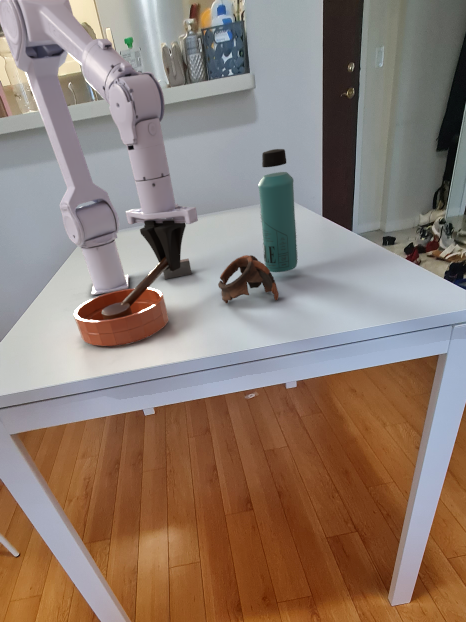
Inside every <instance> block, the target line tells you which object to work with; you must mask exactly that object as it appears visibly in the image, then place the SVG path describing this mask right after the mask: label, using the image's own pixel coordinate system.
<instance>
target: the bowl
mask: <svg viewBox="0 0 466 622" xmlns="http://www.w3.org/2000/svg"><path fill="white" fill-rule="evenodd" d="M135 288H136V287H134V288H127V289H122V290H117V291H112V292H107V293H103V294H100V295H98V296H96V297H93V298H91V299H89V300H87V301H85V302H83V303H82V304H80V305H79V306H78V307H77V308H76V309H74V312H73V318H74V320H75V321H74V322H75V323H76V326H77V328H78V331H79V334H80V337H81V339H82V340H83V341H84V343H87V344H90V345H92V346H100V347H119V346H123V345H130V344H133V343H136V342H140V341H142V340H145V339H147V338H149V337H151V336H153V335H155V334H156V333H158V332H159V331H160V330H162V329H163V328H164V327H165V326H166V325H167V324H168V322H169V313H168V309H167V306H166V300H165V297H164V293H163V292H162V291H161V290H159V289H155V288H152V287H148V288H147V289H146V290H145V291H144V292H143V294H142V295H141V296H140V297H139V298H138V299H137V300H136V301H135V302H134V303H133V304H132V305H131V306H130V307H131V310H132V313H133V314H132V315H128V316H125V317H121V318H116V319H111V320H104V318H103V316H102V313H101V312H102V310H103V309H104V308H106V307H107V306H109V305H112V304H115V303H120V302H122V301H123V300H124V299H125V298H126V297H127V296H128V295H129V294H130V293H131V292H132V291H133V290H134V289H135Z"/></svg>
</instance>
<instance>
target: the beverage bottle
mask: <svg viewBox="0 0 466 622" xmlns="http://www.w3.org/2000/svg"><path fill="white" fill-rule="evenodd" d="M261 155H262V157H261V158H262V159H261V161H262V162H261V165H262V166H261V167H262V168H275V167H279V166H283V165H286V164H287V156H286V150H285V149H284V148H274V149H269V150H266V151H264V152H262V154H261ZM294 183H295V182H294V178H293V176H292V175H291V174H290V173H288V172H287V171H279V172H272V173H268V174H265V175H263V176H262V177H261V179H260V181H259V182H258V185H257V187H258V193H259V204H260V206H259V207H260V219H261V220H260V221H261V232H262V241H263V243H262V245H263V251H262V252H263V260H264V263H263V264H264V265H265V266H266V267H267V268H268V269H269V270H270V272H271V273H283V272H288V271H291V270H293V269H295V268H296V267H297V266H298V261H299V260H298V247H297V238H298V237H297V236H298V235H297V228H296V227H297V226H296V215H295V214H296V213H295V211H296V210H295V194H294V192H295V191H294V189H295V188H294Z"/></svg>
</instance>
